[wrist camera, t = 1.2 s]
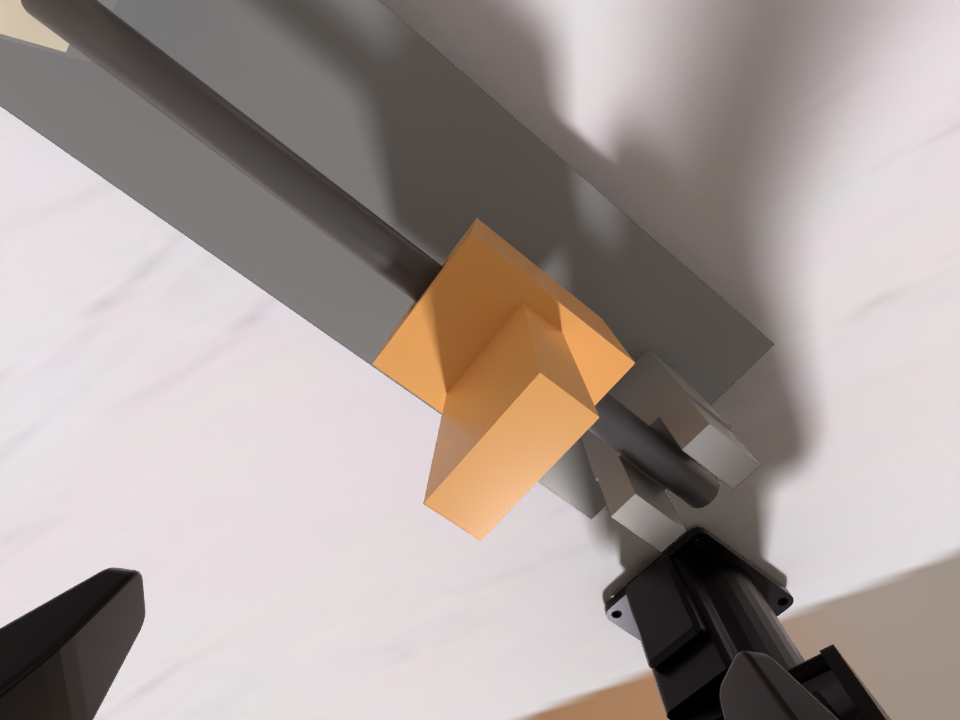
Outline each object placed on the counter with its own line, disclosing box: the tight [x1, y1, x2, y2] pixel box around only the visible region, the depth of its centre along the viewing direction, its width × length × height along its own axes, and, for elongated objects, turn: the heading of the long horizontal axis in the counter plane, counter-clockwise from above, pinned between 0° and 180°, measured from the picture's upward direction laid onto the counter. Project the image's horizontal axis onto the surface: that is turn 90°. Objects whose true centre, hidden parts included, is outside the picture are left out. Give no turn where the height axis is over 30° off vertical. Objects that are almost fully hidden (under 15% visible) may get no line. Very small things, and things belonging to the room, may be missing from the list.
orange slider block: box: [372, 218, 635, 541], centre depth 12 cm, size 5×4×8 cm
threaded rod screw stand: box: [0, 0, 774, 552], centre depth 15 cm, size 29×10×8 cm, turn 52°
